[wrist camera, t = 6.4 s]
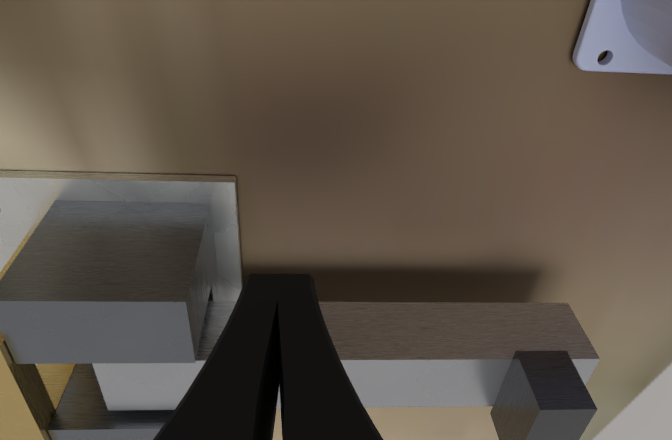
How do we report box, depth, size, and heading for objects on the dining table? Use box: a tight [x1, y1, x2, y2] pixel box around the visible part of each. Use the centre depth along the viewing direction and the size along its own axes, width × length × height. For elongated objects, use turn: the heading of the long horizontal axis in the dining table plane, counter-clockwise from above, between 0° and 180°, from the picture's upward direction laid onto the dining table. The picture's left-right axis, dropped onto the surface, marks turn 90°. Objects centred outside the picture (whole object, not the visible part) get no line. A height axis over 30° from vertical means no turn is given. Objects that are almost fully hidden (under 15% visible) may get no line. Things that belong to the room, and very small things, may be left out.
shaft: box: [92, 301, 600, 440], centre depth 20 cm, size 19×4×6 cm, turn 87°
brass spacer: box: [0, 236, 76, 440], centre depth 21 cm, size 2×6×6 cm, turn 176°
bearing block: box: [0, 170, 243, 440], centre depth 21 cm, size 14×12×6 cm
